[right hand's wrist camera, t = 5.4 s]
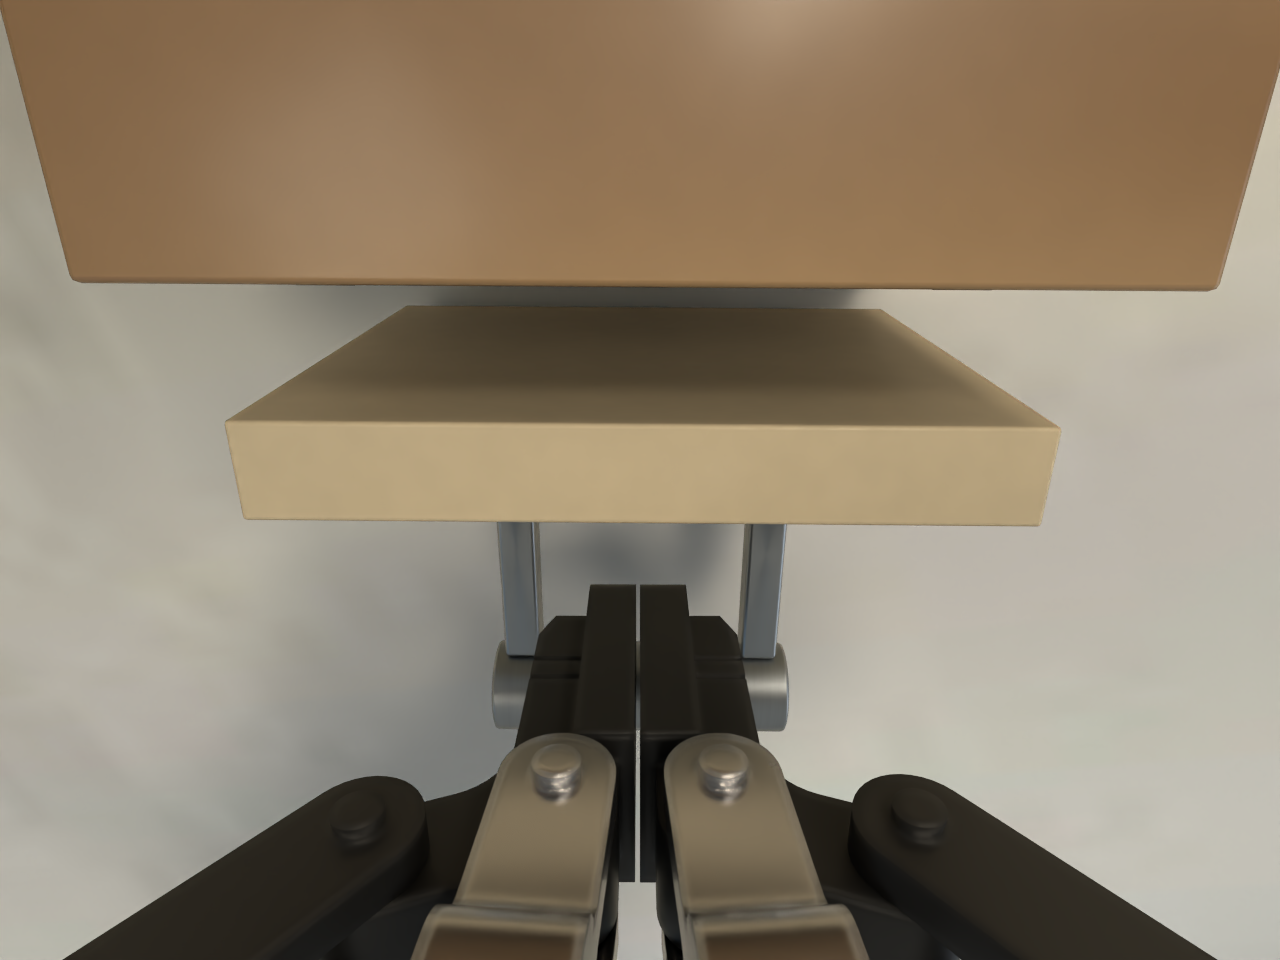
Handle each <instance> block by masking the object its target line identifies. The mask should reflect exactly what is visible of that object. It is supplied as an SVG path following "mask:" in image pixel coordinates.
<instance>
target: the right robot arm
mask: <svg viewBox="0 0 1280 960" xmlns="http://www.w3.org/2000/svg"><path fill="white" fill-rule="evenodd" d="M635 795H636V584H591V585H590V591H589V599H588V608H587V616H556V617H555V618H554V619H553V620H552V621H551V622H550V623H549V624H548V625H547V626H546V627H545V628H544V629H543V631H542V632H541V633H540V634H539V636H538V640H537V645H536V650H535V654H534V660H533V663H532V668H531V673H530V679H529V682H528V687H527V691H526V696H525V701H524V705H523V710H522V715H521V719H520V724H519V729H518V733H517V738H516V743H515V747H514V749H513V750H512V751H511V752H510V753H509V754H508V755H507V756H506V757H505V759H504V760H503V761H502V763H501V765H500V767H499V770H498V773H497V774H495V775H494V776H493V777H491V778H490V779H489V780H487V781H485V782H484V783H482V784H480V785H478V786H476V787H474V788H472V789H469V790H467V791H464V792H460V793H457V794H454V795H450V796H446V797H442V798H438V799H434V800H430V801H426V802H424V801H423V798H422V796H421V794H420V793H419V791H418V790H417V789H416V788H415V787H414V786H412V785H411V784H409V783H407V782H406V781H403V780H400V779H398V778H393V777H387V776H371V777H363V778H358V779H354V780H351V781H347V782H344V783H342V784H340V785H337V786H335V787H333V788H331V789H329V790H328V791H326V792H324V793H322V794H321V795H319V796H318V797H316V798H315V799H313V800H311V801H310V802H308V803H307V804H305V805H304V806H302V807H301V808H299V809H297V810H296V811H294V812H293V813H291V814H290V815H288V816H286V817H285V818H283V819H282V820H280V821H279V822H277V823H276V824H274V825H272V826H271V827H269V828H268V829H266V830H265V831H263V832H261V833H260V834H258V835H257V836H255V837H254V838H252V839H251V840H249V841H247V842H246V843H244V844H243V845H241V846H240V847H238V848H236V849H235V850H233V851H232V852H230V853H229V854H227V855H226V856H224V857H222V858H221V859H219V860H218V861H216V862H215V863H213V864H211V865H210V866H208V867H207V868H205V869H204V870H202V871H201V872H199V873H197V874H196V875H194V876H193V877H191V878H190V879H188V880H186V881H185V882H183V883H182V884H180V885H179V886H177V887H176V888H174V889H172V890H171V891H169V892H168V893H166V894H165V895H163V896H161V897H160V898H158V899H157V900H155V901H154V902H152V903H151V904H149V905H147V906H146V907H144V908H143V909H141V910H140V911H138V912H136V913H135V914H133V915H132V916H130V917H129V918H127V919H126V920H124V921H122V922H121V923H119V924H118V925H116V926H115V927H113V928H111V929H110V930H108V931H107V932H105V933H104V934H102V935H101V936H99V937H97V938H96V939H94V940H93V941H91V942H90V943H88V944H86V945H85V946H83V947H82V948H80V949H79V950H77V951H76V952H74V953H72V954H71V955H69V956H68V957H66V958H65V959H63V960H617V952H618V894H619V882H635ZM640 882H656V909H657V917H658V920H659V923H660V926H661V928H662V952H663V960H960V959H961V960H1217V959H1215V958H1214V957H1212V956H1211V955H1209V954H1208V953H1206V952H1204V951H1203V950H1201V949H1200V948H1198V947H1197V946H1195V945H1193V944H1192V943H1190V942H1189V941H1187V940H1186V939H1184V938H1183V937H1181V936H1179V935H1178V934H1176V933H1175V932H1173V931H1172V930H1170V929H1168V928H1167V927H1165V926H1164V925H1162V924H1161V923H1159V922H1158V921H1156V920H1154V919H1153V918H1151V917H1150V916H1148V915H1147V914H1145V913H1143V912H1142V911H1140V910H1139V909H1137V908H1136V907H1134V906H1133V905H1131V904H1129V903H1128V902H1126V901H1125V900H1123V899H1122V898H1120V897H1119V896H1117V895H1115V894H1114V893H1112V892H1111V891H1109V890H1108V889H1106V888H1104V887H1103V886H1101V885H1100V884H1098V883H1097V882H1095V881H1094V880H1092V879H1090V878H1089V877H1087V876H1086V875H1084V874H1083V873H1081V872H1079V871H1078V870H1076V869H1075V868H1073V867H1072V866H1070V865H1069V864H1067V863H1065V862H1064V861H1062V860H1061V859H1059V858H1058V857H1056V856H1054V855H1053V854H1051V853H1050V852H1048V851H1047V850H1045V849H1044V848H1042V847H1040V846H1039V845H1037V844H1036V843H1034V842H1033V841H1031V840H1029V839H1028V838H1026V837H1025V836H1023V835H1022V834H1020V833H1019V832H1017V831H1015V830H1014V829H1012V828H1011V827H1009V826H1008V825H1006V824H1004V823H1003V822H1001V821H1000V820H998V819H997V818H995V817H994V816H992V815H990V814H989V813H987V812H986V811H984V810H983V809H981V808H979V807H978V806H976V805H975V804H973V803H972V802H970V801H969V800H967V799H965V798H964V797H962V796H961V795H959V794H958V793H956V792H954V791H953V790H951V789H949V788H948V787H946V786H944V785H942V784H940V783H937V782H935V781H932V780H929V779H926V778H923V777H918V776H913V775H905V774H892V775H885V776H880V777H877V778H874V779H872V780H870V781H868V782H867V783H865V784H864V785H863V786H862V787H860V788H859V790H858V791H857V793H856V794H855V796H854V799H853V803H851V802H847V801H843V800H839V799H835V798H831V797H827V796H823V795H819V794H816V793H813V792H810V791H807V790H805V789H802V788H800V787H797V786H796V785H794V784H792V783H790V782H789V781H787V780H786V779H785V778H784V776H783V773H782V770H781V767H780V765H779V763H778V761H777V760H776V759H775V757H774V756H773V755H772V754H771V753H770V752H769V751H768V750H767V749H766V748H764V747H763V746H761V745H760V744H759V739H758V734H757V729H756V724H755V719H754V714H753V709H752V705H751V700H750V695H749V690H748V685H747V680H746V679H745V671H744V666H743V661H742V656H741V651H740V646H739V641H738V637H737V634H736V633H735V632H734V631H733V630H732V629H731V628H730V627H729V625H728V624H727V623H726V622H725V621H724V620H723V619H722V618H721V617H720V616H689V610H688V601H687V591H686V585H640ZM959 958H960V959H959Z"/></svg>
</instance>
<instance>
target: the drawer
mask: <svg viewBox="0 0 1280 960" xmlns="http://www.w3.org/2000/svg"><path fill="white" fill-rule="evenodd" d="M932 290H956V289H932ZM225 428H226V433H227V438H228V443H229V448H230V453H231V458H232V463H233V468H234V473H235V478H236V483H237V488H238V493H239V497H240V502H241V507H242V512H243V517H244V518H245V519H247V520H351V521H469V522H497V530H498V544H499V559H500V574H501V588H502V603H503V617H504V632H505V640H503V641H501V642H500V644H499V646H498V649H497V652H496V656H495V662H494V669H493V680H492V711H493V718H494V722H495V725H496V727H497V728H499V729H519V724H520V719H521V715H522V710H523V705H524V701H525V696H526V691H527V687H528V682H529V679H530V673H531V668H532V663H533V660H534V654H535V650H536V645H537V640H538V636H539V634H540V633H541V632H542V631H543V629H544V624H543V602H542V581H541V559H540V538H539V522H587V523H705V524H745V528H744V544H743V560H742V576H741V592H740V608H739V624H738V641H739V646H740V651H741V656H742V661H743V666H744V671H745V679H746V680H747V685H748V690H749V695H750V700H751V705H752V709H753V714H754V719H755V724H756V729H757V731H782V730H784V728H785V726H786V723H787V718H788V709H789V681H788V669H787V662H786V657H785V653H784V650H783V647H782V645H781V644H780V643H777V633H778V621H779V609H780V598H781V586H782V574H783V562H784V551H785V539H786V527H787V524H823V525H941V526H1040V524H1041V521H1042V517H1043V512H1044V508H1045V503H1046V499H1047V494H1048V490H1049V485H1050V480H1051V476H1052V471H1053V467H1054V462H1055V458H1056V453H1057V449H1058V444H1059V440H1060V435H1061V429H1060V427H1058V426H1057V425H1055V424H1054V423H1052V422H1051V421H1049V420H1048V419H1046V418H1045V417H1043V416H1042V415H1040V414H1039V413H1037V412H1036V411H1034V410H1033V409H1031V408H1030V407H1028V406H1027V405H1025V404H1024V403H1022V402H1021V401H1019V400H1018V399H1016V398H1014V397H1013V396H1011V395H1010V394H1008V393H1007V392H1005V391H1004V390H1002V389H1001V388H999V387H998V386H996V385H995V384H993V383H992V382H990V381H989V380H987V379H986V378H984V377H983V376H981V375H980V374H978V373H977V372H975V371H974V370H972V369H971V368H969V367H968V366H966V365H964V364H963V363H961V362H960V361H958V360H957V359H955V358H954V357H952V356H951V355H949V354H948V353H946V352H945V351H943V350H942V349H940V348H939V347H937V346H936V345H934V344H933V343H931V342H930V341H928V340H927V339H925V338H924V337H922V336H921V335H919V334H918V333H916V332H914V331H913V330H911V329H910V328H908V327H907V326H905V325H904V324H902V323H901V322H899V321H898V320H896V319H895V318H893V317H892V316H890V315H889V314H887V313H886V312H884V311H883V310H881V309H772V308H640V307H509V306H406V307H404V308H402V309H401V310H399V311H398V312H396V313H395V314H393V315H391V316H390V317H388V318H387V319H385V320H384V321H382V322H380V323H379V324H377V325H376V326H374V327H373V328H371V329H369V330H368V331H366V332H365V333H363V334H362V335H360V336H358V337H357V338H355V339H354V340H352V341H351V342H349V343H347V344H346V345H344V346H343V347H341V348H340V349H338V350H336V351H335V352H333V353H332V354H330V355H329V356H327V357H325V358H324V359H322V360H321V361H319V362H318V363H316V364H314V365H313V366H311V367H310V368H308V369H307V370H305V371H304V372H302V373H300V374H299V375H297V376H296V377H294V378H293V379H291V380H289V381H288V382H286V383H285V384H283V385H282V386H280V387H278V388H277V389H275V390H274V391H272V392H271V393H269V394H267V395H266V396H264V397H263V398H261V399H260V400H258V401H256V402H255V403H253V404H252V405H250V406H249V407H247V408H245V409H244V410H242V411H241V412H239V413H238V414H236V415H234V416H233V417H231V418H230V419H228V420H227V421H226V422H225ZM636 730H640V641H636Z"/></svg>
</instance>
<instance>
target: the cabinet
mask: <svg viewBox="0 0 1280 960" xmlns="http://www.w3.org/2000/svg"><path fill="white" fill-rule="evenodd" d="M0 10H1V13H2V17H3V21H4V25H5V29H6V33H7V36H8V40H9V44H10V48H11V52H12V56H13V59H14V63H15V67H16V71H17V75H18V78H19V82H20V86H21V90H22V94H23V98H24V101H25V105H26V109H27V113H28V117H29V121H30V124H31V128H32V132H33V136H34V140H35V144H36V147H37V151H38V155H39V159H40V163H41V167H42V170H43V174H44V178H45V182H46V186H47V190H48V193H49V197H50V201H51V205H52V209H53V213H54V216H55V220H56V224H57V228H58V232H59V236H60V239H61V243H62V247H63V251H64V255H65V259H66V262H67V266H68V270H69V274H70V276H71V278H72V279H73V280H75V281H78V282H81V283H159V284H292V285H424V286H557V287H690V288H823V289H956V290H1089V291H1210V290H1213V289H1216V288H1217V287H1218V285H1219V284H1220V281H1221V277H1222V274H1223V270H1224V266H1225V263H1226V259H1227V256H1228V252H1229V249H1230V245H1231V241H1232V238H1233V234H1234V231H1235V227H1236V223H1237V220H1238V216H1239V213H1240V209H1241V206H1242V202H1243V198H1244V195H1245V191H1246V188H1247V184H1248V180H1249V177H1250V173H1251V170H1252V166H1253V163H1254V159H1255V155H1256V152H1257V148H1258V145H1259V141H1260V137H1261V134H1262V130H1263V127H1264V123H1265V120H1266V116H1267V112H1268V109H1269V105H1270V102H1271V98H1272V94H1273V91H1274V87H1275V84H1276V80H1277V77H1278V73H1279V69H1280V0H0Z"/></svg>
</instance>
